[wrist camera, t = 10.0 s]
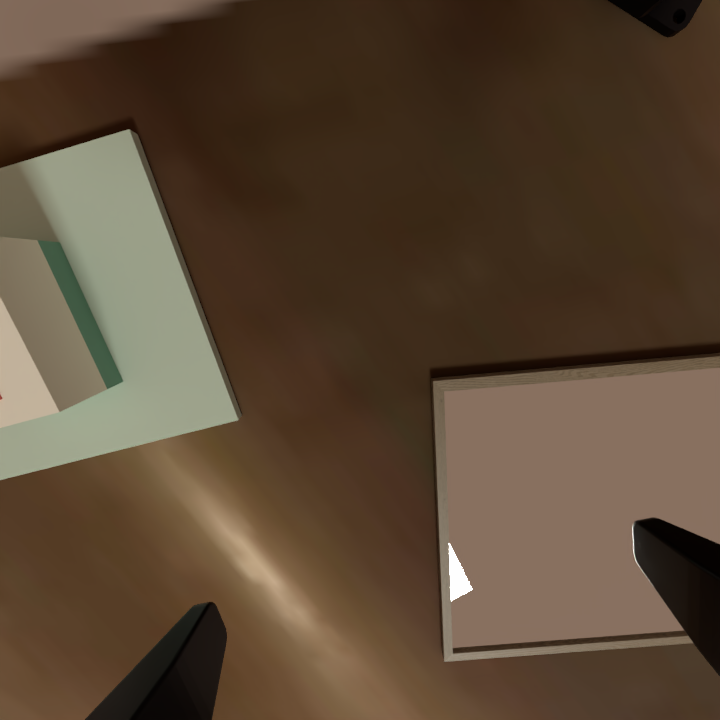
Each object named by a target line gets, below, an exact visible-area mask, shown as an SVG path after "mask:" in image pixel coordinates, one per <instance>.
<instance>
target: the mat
mask: <svg viewBox="0 0 720 720" xmlns="http://www.w3.org/2000/svg"><path fill="white" fill-rule="evenodd" d="M0 237H8V238H19V239H30V240H41V241H51V242H60V244H61V246H62V248H63V250H64V253H65V255H66V257H67V259H68V261H69V264H70V266H71V268H72V270H73V272H74V274H75V277H76V279H77V281H78V283H79V285H80V288H81V290H82V292H83V294H84V296H85V299H86V301H87V303H88V305H89V307H90V309H91V312H92V314H93V316H94V318H95V320H96V323H97V325H98V327H99V329H100V331H101V334H102V336H103V338H104V340H105V342H106V344H107V347H108V349H109V351H110V353H111V355H112V358H113V360H114V362H115V364H116V366H117V369H118V371H119V373H120V375H121V377H122V380H123V382H122V383H119V384H117V385H115V386H113V387H111V388H109V389H107V390H105V391H103V392H101V393H99V394H96V395H94V396H92V397H90V398H88V399H86V400H84V401H82V402H80V403H78V404H76V405H73V406H71V407H69V408H67V409H65V410H63V411H61V412H58V413H55V414H51V415H47V416H43V417H40V418H36V419H32V420H28V421H25V422H21V423H17V424H13V425H10V426H6V427H2V428H0V480H2V479H6V478H10V477H14V476H18V475H22V474H26V473H30V472H34V471H38V470H42V469H46V468H50V467H54V466H58V465H62V464H66V463H70V462H74V461H78V460H82V459H86V458H90V457H94V456H98V455H101V454H105V453H109V452H113V451H117V450H121V449H125V448H129V447H133V446H137V445H141V444H145V443H149V442H153V441H157V440H161V439H165V438H169V437H173V436H177V435H181V434H185V433H189V432H193V431H197V430H201V429H205V428H209V427H213V426H217V425H221V424H225V423H229V422H233V421H237V420H239V419H240V417H241V416H242V414H241V412H240V409H239V406H238V404H237V401H236V398H235V395H234V393H233V390H232V387H231V385H230V382H229V379H228V377H227V374H226V371H225V368H224V366H223V363H222V360H221V358H220V355H219V352H218V350H217V347H216V344H215V342H214V339H213V336H212V333H211V331H210V328H209V325H208V323H207V320H206V317H205V315H204V312H203V309H202V307H201V304H200V301H199V298H198V296H197V293H196V290H195V288H194V285H193V282H192V280H191V277H190V274H189V272H188V269H187V266H186V263H185V261H184V258H183V255H182V253H181V250H180V247H179V245H178V242H177V239H176V237H175V234H174V231H173V228H172V226H171V223H170V220H169V218H168V215H167V212H166V210H165V207H164V204H163V202H162V199H161V196H160V193H159V191H158V188H157V185H156V183H155V180H154V177H153V175H152V172H151V169H150V167H149V164H148V161H147V158H146V156H145V153H144V150H143V148H142V145H141V142H140V140H139V137H138V134H136V133H135V132H133V131H131V130H130V129H128V130H125V131H121V132H118V133H115V134H111V135H108V136H105V137H102V138H98V139H95V140H92V141H88V142H85V143H82V144H79V145H75V146H72V147H69V148H65V149H62V150H59V151H56V152H52V153H49V154H46V155H42V156H39V157H36V158H32V159H29V160H26V161H23V162H19V163H16V164H13V165H9V166H6V167H3V168H0Z"/></svg>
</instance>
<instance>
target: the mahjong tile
mask: <svg viewBox="0 0 720 720" xmlns="http://www.w3.org/2000/svg"><path fill="white" fill-rule="evenodd" d="M122 382H123V380H122V377H121V375H120V373H119V371H118V369H117V366H116V364H115V362H114V360H113V358H112V355H111V353H110V351H109V349H108V347H107V344H106V342H105V340H104V338H103V336H102V334H101V331H100V329H99V327H98V325H97V323H96V320H95V318H94V316H93V314H92V312H91V309H90V307H89V305H88V303H87V301H86V299H85V296H84V294H83V292H82V290H81V288H80V285H79V283H78V281H77V279H76V277H75V274H74V272H73V270H72V268H71V266H70V264H69V261H68V259H67V257H66V255H65V253H64V250H63V248H62V246H61V244H60V242H51V241H41V240H30V239H19V238H8V237H0V428H2V427H6V426H10V425H13V424H17V423H21V422H25V421H28V420H32V419H36V418H40V417H43V416H47V415H51V414H55V413H58V412H61V411H63V410H65V409H67V408H69V407H71V406H73V405H76V404H78V403H80V402H82V401H84V400H86V399H88V398H90V397H92V396H94V395H96V394H99V393H101V392H103V391H105V390H107V389H109V388H111V387H113V386H115V385H117V384H119V383H122Z"/></svg>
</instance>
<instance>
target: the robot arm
mask: <svg viewBox="0 0 720 720" xmlns="http://www.w3.org/2000/svg"><path fill="white" fill-rule="evenodd" d="M608 1H610V2H611V3H613V4H615V5H616V6H618V7H619V8H621V9H622V10H624V11H625V12H627V13H629V14H630V15H632V16H633V17H635V18H636V19H638V20H640V21H641V22H643V23H644V24H646V25H647V26H649V27H651V28H652V29H654V30H655V31H657V32H658V33H660V34H661V35H663V36H666V37H672V36H674V35H676V34H677V33H678V32H680V31H681V30H682V29H684V28H685V27H686V26H687V25H688V24H689V22H690V20H691V19H692V17H693V15H694V14H695V12H696V10H697V8H698V7H699V5H700V3H701V1H702V0H608ZM673 16H675V17H676V18H677V24H676V23H675V22H674V21H673ZM632 530H633V552H634V557H635V559H636V561H637V563H638V565H639V567H640V568H641V570H642V571H643V572H644V574H645V575H646V577H647V578H648V580H649V581H650V582H651V584H652V585H653V587H654V588H655V589H656V591H657V592H658V594H659V595H660V597H661V598H662V599H663V601H664V602H665V604H666V605H667V607H668V608H669V609H670V611H671V612H672V614H673V615H674V617H675V618H676V619H677V621H678V622H679V624H680V625H681V626H682V628H683V629H684V631H685V632H686V634H687V635H688V636H689V638H690V639H691V640H692V642H693V643H694V645H695V646H696V647H697V649H698V650H699V651H700V652H701V654H702V655H703V656H704V657H705V659H706V660H707V661H708V662H709V664H710V665H711V666H712V667H713V669H714V670H715V671H716V672H717V673H718V675H719V676H720V544H718V543H716V542H714V541H711V540H709V539H707V538H704V537H702V536H699V535H697V534H695V533H692V532H690V531H688V530H685V529H683V528H681V527H678V526H676V525H673V524H671V523H669V522H666V521H664V520H662V519H659V518H655V517H651V518H646V519H640V520H636V521H634V523H633V526H632ZM226 641H227V632H226V628H225V625H224V623H223V621H222V618H221V616H220V613H219V611H218V609H217V606H216V605H215V604H214V603H213V602H207V603H201V604H197V605H194V606H193V607H192V608H191V609H190V610H189V611H188V612H187V613H186V614H185V615H184V616H183V617H182V618H181V619H180V620H179V621H178V622H177V623H176V624H175V625H174V626H173V627H172V629H171V630H170V631H169V632H168V633H167V634H166V635H165V636H164V637H163V638H162V639H161V640H160V641H159V642H158V643H157V644H156V645H155V646H154V647H153V649H152V650H151V651H150V652H149V653H148V654H147V655H146V656H145V657H144V658H143V659H142V660H141V661H140V662H139V663H138V664H137V665H136V666H135V667H134V668H133V670H132V671H131V672H130V673H129V674H128V675H127V676H126V677H125V678H124V679H123V680H122V681H121V682H120V683H119V684H118V685H117V686H116V687H115V688H114V690H113V691H112V692H111V693H110V694H109V695H108V696H107V697H106V698H105V699H104V700H103V701H102V702H101V703H100V704H99V705H98V706H97V707H96V708H95V709H94V711H93V712H92V713H91V714H90V715H89V716H88V717H87V718H86V719H85V720H212V716H213V711H214V706H215V700H216V695H217V690H218V684H219V679H220V674H221V669H222V663H223V658H224V653H225V647H226Z"/></svg>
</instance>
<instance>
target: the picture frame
mask: <svg viewBox="0 0 720 720" xmlns="http://www.w3.org/2000/svg"><path fill="white" fill-rule="evenodd" d="M431 391H432V415H433V439H434V463H435V488H436V512H437V536H438V560H439V584H440V608H441V632H442V653H443V658H444V662H447V661H460V660H473V659H487V658H500V657H513V656H527V655H540V654H553V653H567V652H580V651H593V650H607V649H620V648H633V647H647V646H660V645H673V644H687V643H693V642H692V640H691V639H690V638H689V636H688V635H687V634H686V632H685V631H684V629H683V628H682V626H681V625H680V624H679V622H678V621H677V619H676V618H675V617H674V615H673V614H672V612H671V611H670V609H669V608H668V607H667V605H666V604H665V602H664V601H663V599H662V598H661V597H660V595H659V594H658V592H657V591H656V589H655V588H654V587H653V585H652V584H651V582H650V581H649V580H648V578H647V577H646V575H645V574H644V572H643V571H642V570H641V568H640V567H639V565H638V563H637V561H636V559H635V557H634V552H633V530H632V526H633V523H634V521H636V520H640V519H646V518H651V517H655V518H659V519H662V520H664V521H666V522H669V523H671V524H673V525H676V526H678V527H681V528H683V529H685V530H688V531H690V532H692V533H695V534H697V535H699V536H702V537H704V538H707V539H709V540H711V541H714V542H716V543H718V544H720V353H712V354H701V355H689V356H678V357H667V358H655V359H644V360H632V361H621V362H610V363H598V364H587V365H575V366H564V367H553V368H541V369H530V370H518V371H507V372H496V373H484V374H473V375H461V376H450V377H439V378H431Z"/></svg>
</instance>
